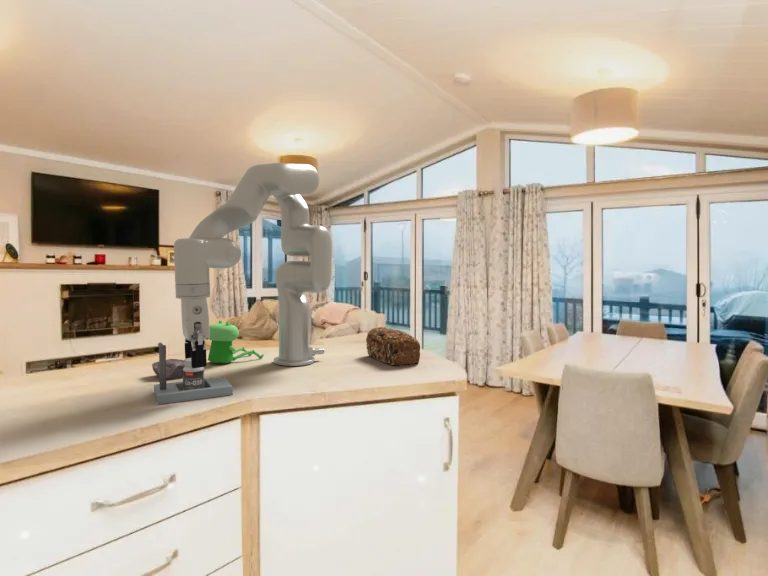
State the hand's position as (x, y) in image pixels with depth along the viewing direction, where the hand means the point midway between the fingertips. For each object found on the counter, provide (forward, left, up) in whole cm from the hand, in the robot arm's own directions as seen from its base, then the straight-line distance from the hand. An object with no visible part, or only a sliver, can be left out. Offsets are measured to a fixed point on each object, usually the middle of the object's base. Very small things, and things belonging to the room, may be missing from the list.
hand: (195, 362), depth 111 cm
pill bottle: (+1, 0, -8) cm, 8 cm away
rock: (+2, -20, -8) cm, 22 cm away
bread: (-62, -11, -8) cm, 63 cm away
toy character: (-16, -32, -8) cm, 37 cm away
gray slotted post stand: (+1, 0, -7) cm, 7 cm away
